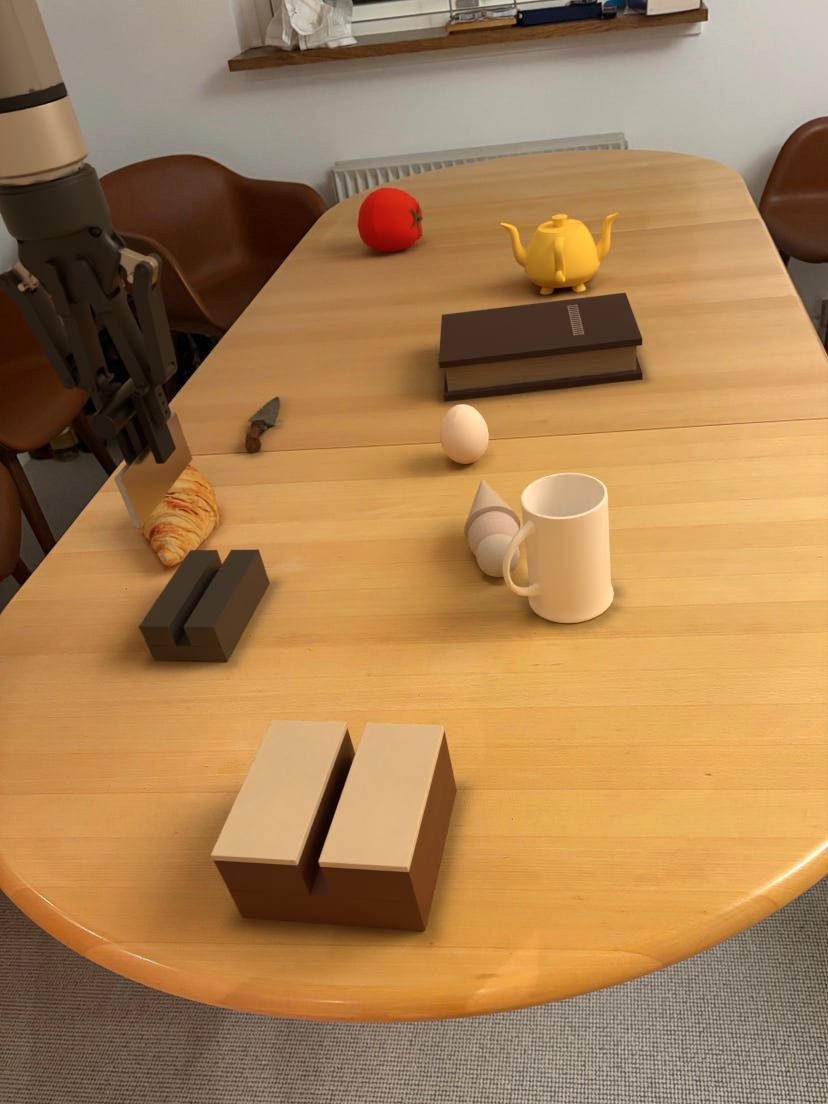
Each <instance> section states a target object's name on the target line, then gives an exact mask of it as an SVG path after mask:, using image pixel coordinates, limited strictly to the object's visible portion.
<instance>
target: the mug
mask: <svg viewBox="0 0 828 1104" xmlns="http://www.w3.org/2000/svg"><path fill="white" fill-rule="evenodd" d="M608 495H609V493H608V489H607V487H606V485H605V483H603V481H602V480H600V479H598V478H596V477H594V476H591V475H588V474H585V473H578V472H560V473H554V474H550V475H546V476H543V477H540V478H537V479H536V480H534V481H532V482H531V483H529V484H528V485H526V487H524V489H523V490H522V492H521V495H520V509H521V518H522V527H520V530H519V531H518V532H517V533H516V534H515V536H514V537H513V539H512V540H511V542H510V543H509V545H508V547H507V550H506V552H505V556H504V560H503V579H504V582H505V584H506V586H507V587H508V588H509V590H511V591H512V592H513V593H515V594H517V595H519V596H522V597H528V604H529V606H530V608H531V610H532V611H533V612H534V613H535V614H536V615H538V616H539V617H541V618H542V619H545V620H547V621H549V622H553V623H558V624H559V623H560V624H573V623H574V624H577V623H582V622H587V621H589V620H593V619H595V618H597V617H599V616H600V615H602V614H603V613H604V612H606V611H607V610H608V609H609V608H610V606H611V604H612V603H613V600H614V596H615V595H614V594H615V593H614V587H613V586H612V578H611V553H610V552H611V551H610V523H609V496H608ZM523 541H524V546H525V547H524V548H525V557H526V565H527V566H526V567H527V574H528V586H518V585H516V584H515V583H514V582H513V580H512V578H511V573H509V568H510V562H511V559H512V556H513V554H514V552H515V550H516V548H517V547H518V545H519V544H521V543H522V542H523ZM519 546H520V545H519ZM518 548H519V547H518Z"/></svg>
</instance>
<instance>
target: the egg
mask: <svg viewBox="0 0 828 1104" xmlns="http://www.w3.org/2000/svg"><path fill="white" fill-rule="evenodd" d="M489 434H490V433H489V429H488V424H487V422H486V420H485V419H484V417H483V416H482V414H481V413H480V412H479V411H478V410H477V409H476V408H475V407H473V406H471V405H469V404H464V403H461V404H460V403H459V404H456V405H454V406H452V407H451V408H450V409H449V410H448V411H446V413H445V414H444V417H443V419H442V422H441V424H440V429H439V439H440V444H441V447H442V449H443V452H444V453H445V454H446V456H447V457H448V458H450V459H451V460H452V461H453V462H454V463H458V464H461V465H468V464H472V463H476V462H477V461H478V460H480V459H481V458H482V457H483V456H484V454H485V453H486V450H487V449H488V446H489V441H490V440H489V439H490V435H489Z"/></svg>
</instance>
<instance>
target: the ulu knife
mask: <svg viewBox="0 0 828 1104" xmlns="http://www.w3.org/2000/svg"><path fill="white" fill-rule="evenodd" d="M135 388H136V387H135V385H134V383H133V381H132V379H131V377H130V378H129V379H128V380H126V382H125V383H124V384H123V385H122V387H121V388H120V389H119V390H118V391H117V392H116V393H115V394H114V395H113V396H112V397H111V398H110V399H109V400H108V401H107V402H106V403H105V404H104V405H103V406H102V407H101V408H100V409H99V410H98V411H97V410H96V412H95V413H94V414H93V415H92V416H91V418H90V421H89V425H90V429H92V431H93V433H95V434H96V435H97V437H100V438H102V439H106V440H109V439H113V438H115V435H116V434H117V433H118V432H119V431H120V430H121V429H122V428H123V426H124V425H125V427H126V429H127V432H128V434H129V437H130V439H131V442H132V444H133V447H134V449H135V451H137V452H136V453H135V454H134V455H133V456H132V458H131V459H130V460H129V461H128V462H127V464H126V463H125V464H124V465H123V467H122V468H121V469H120V471H118V473H117V474H116V475H115V477H113V479H114V482H115V484H116V486H117V488H118V491H119V493H120V496H121V498H122V500H123V503H124V505H125V507H126V509H127V512H128V514H129V517H130V519H131V521H132V524H133V526H134V528H135V529H140V528H141V527H142V526H143V525H144V523H145V522H146V521H147V519H148V518H149V517H150V515H151V514H152V513H153V511H154V510H155V509H156V507H157V506H158V505H159V503H160V502H161V501H162V499H163V498H164V497H165V495H166V494H167V493H168V491H169V490H170V489H171V487H172V486H173V485H174V483H175V482H176V481H177V479H178V478H179V477H180V475H181V474H182V473H183V471H184V470H185V469H186V467H187V466H188V465H190V463H191V462H192V460H193V456H192V453H191V450H190V447H189V445H188V442H187V440H186V436H185V433H184V431H183V428H182V425H181V423H180V420H179V418H178V414H177V412H176V411H171V418H170V419H169V420H168V421H167V425H168V427H169V430H170V433H171V436H172V438H173V441H174V444H175V447H176V449H175V451H174V452H173V453H172V455H171V456H170V457H169V458H168V460H167V461H166V462H165V463H164V464H156V461H155V459H154V456H153V454H152V451H151V448H150V446H149V443H148V441H147V438H146V435H145V433H144V430H143V428H142V425H141V423H140V420H139V417H138V415H137V412H136V410H135V407H134V404H133V402H132V399H131V397H130V395H131V394H132V393H133V392H132V391H133V390H134V389H135Z"/></svg>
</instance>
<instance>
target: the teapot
mask: <svg viewBox="0 0 828 1104" xmlns="http://www.w3.org/2000/svg"><path fill="white" fill-rule="evenodd" d="M618 215H620V211H618V212H615V213H611V214H609V215H607V216H606V217H605V218H604V220H603V222H602V228H601V232H602V233H601V237H600V239H599V241H598V242H596V241H595V239H594V237H593V235H592V234H591V232H590V230H589V229H588V228H587V226H586V225H585V224H584V223H583V222H582V221H581V220H578V219H573V218H568V214H565V213H557V214H554V215H552V216H551V220H549V221H546V222H544V223H541V224H540V225H538V227H537V228H536V230H535V232H533V235H532V237H531V239H530V242H529V244H528V247H527V249H526V248H525V247H524V246H523V245H522V244H521V240H520V234H519V231H518V229H517V228H516V226H514V225H513V224H510V223H505V222H500V225H501V226H502V227H504V228H505V229H506V230H507V232H508V233H509V236H510V240H511V245H512V246H511V247H512V254H513V257H514V259H515V261H516V263H518V265H519V266H521V267H522V268H524V273H525V275H526V276H527V278H529V280H530V281H531V282H533V283H534V284H535V285H537V286H539V287H541V289H540V292H539V294H540V295H551V294H553V293H554V291H555V290H554V289H555V288H556V289H559V288H561V289H562V288H568V287H569V288H570V287H571V290H572V292H575V293H580V292H584V291H586V290H587V287H586V286H585V284H584V283H586V282H588V281H589V280H592V278H593V277H594V275H595V274H596V273H597V271H598V270H599V268H600V266H601V262H602V261H603V260H604V259H605V258H606V256H607V255H608V254H609V251H610V247H611V230H612V225H613V223H614V222H613V221H614V220H615V219H616V217H618Z"/></svg>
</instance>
